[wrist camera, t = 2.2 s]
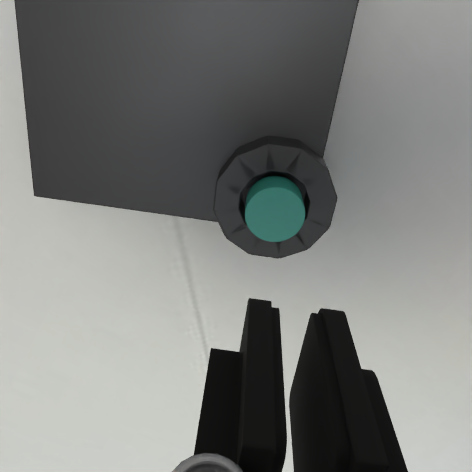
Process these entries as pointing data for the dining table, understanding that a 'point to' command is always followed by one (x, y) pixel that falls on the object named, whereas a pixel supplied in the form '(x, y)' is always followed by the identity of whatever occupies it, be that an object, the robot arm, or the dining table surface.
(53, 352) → the dining table surface
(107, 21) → the dark grey flat block
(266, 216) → the button
